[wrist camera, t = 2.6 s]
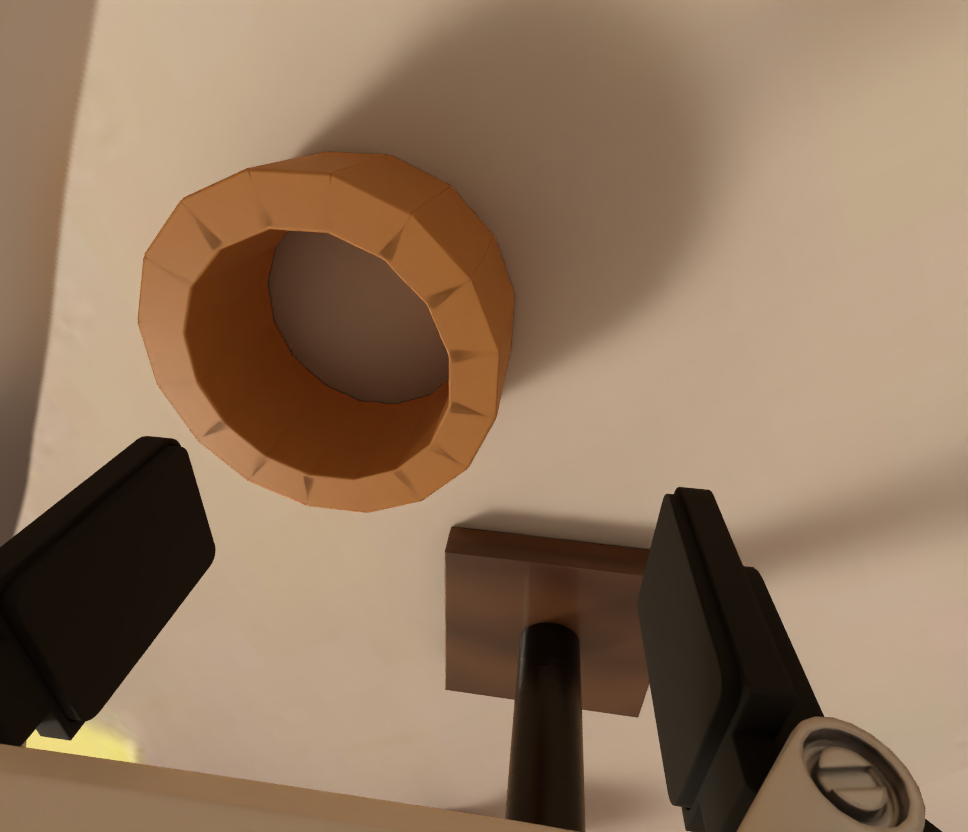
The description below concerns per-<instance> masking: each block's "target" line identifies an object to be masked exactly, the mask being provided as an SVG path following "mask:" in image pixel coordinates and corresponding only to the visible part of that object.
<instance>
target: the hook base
mask: <svg viewBox="0 0 968 832" xmlns="http://www.w3.org/2000/svg"><path fill="white" fill-rule="evenodd" d="M649 552H650V550H645V549H637V548H628V547H619V546H611V545H602V544H594V543H585V542H576V541H568V540H559V539H550V538H542V537H533V536H525V535H516V534H507V533H499V532H490V531H482V530H473V529H464V528H456V527H451V530H450V534H449V538H448V541H447V545H446V549H445V689H446V690H451V691H458V692H465V693H472V694H479V695H486V696H493V697H500V698H507V699H514V700H515V692H516V679H517V667H518V655H519V643H520V636H521V634H522V632H523V631H524V630H525V629H526V628H528V627H529V626H531V625H534V624H537V623H544V622H549V623H556V624H560V625H563V626H565V627H567V628H569V629H571V630H572V631H573V632H574V633H575V634H576V635H577V637H578V639H579V641H580V664H581V697H582V709H583V710H589V711H596V712H603V713H610V714H617V715H624V716H631V717H639V713H640V710H641V707H642V704H643V701H644V698H645V695H646V692H647V689H648V686H649V676H648V670H647V664H646V658H645V652H644V646H643V640H642V634H641V628H640V622H639V616H638V595H639V591H640V587H641V583H642V579H643V575H644V572H645V568H646V564H647V560H648V556H649Z"/></svg>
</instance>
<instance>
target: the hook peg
mask: <svg viewBox="0 0 968 832" xmlns="http://www.w3.org/2000/svg"><path fill="white" fill-rule="evenodd" d="M505 819H508V820H515V821H520V822H526V823H532V824H538V825H543V826H549V827H555V828H561V829H566V830H572V831H578V832H585V798H584V765H583V731H582V697H581V664H580V641H579V639H578V637H577V635H576V634H575V633H574V632H573V631H572V630H571V629H569V628H567V627H565V626H563V625H560V624H556V623H549V622H544V623H537V624H534V625H531V626H529V627H528V628H526V629H525V630H524V631H523V632H522V634H521V636H520V643H519V655H518V667H517V679H516V692H515V704H514V716H513V728H512V741H511V753H510V765H509V777H508V789H507V802H506V814H505Z"/></svg>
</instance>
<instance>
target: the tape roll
mask: <svg viewBox="0 0 968 832" xmlns="http://www.w3.org/2000/svg"><path fill="white" fill-rule="evenodd" d="M288 230H289V231H305V232H320V233H329V234H331V235H333V236H335V237H337V238H339V239H342V240H344V241H346V242H348V243H350V244H352V245H354V246H356V247H358V248H360V249H362V250H364V251H366V252H368V253H370V254H372V255H374V256H377V257H379V258H381V259H383V260H384V261H385V262H386V263H387V264H388V265H389V266H390V267H391V268H392V269H393V270H394V271H395V272H396V273H397V274H398V275H399V276H400V277H401V278H402V279H403V281H404V282H405V283H406V284H407V285H408V286H409V287H410V288H411V289H412V290H413V291H414V292H415V293H416V294H417V295H418V296H419V297H420V298H421V299H422V300H423V301H424V302H425V303H426V304H427V306H428V309H429V311H430V313H431V316H432V318H433V320H434V323H435V325H436V327H437V330H438V332H439V334H440V337H441V339H442V342H443V344H444V346H445V349H446V351H447V353H448V356H449V380H448V381H447V382H445V383H444V384H443V385H442V386H440V387H439V388H438V389H437V390H436V391H434V392H433V393H432V394H431V395H428V396H424V397H421V398H417V399H414V400H410V401H406V402H403V403H399V404H387V403H377V402H366V401H359V400H357V399H354V398H352V397H350V396H348V395H346V394H343V393H341V392H339V391H337V390H334V389H332V388H330V387H328V386H326V385H324V384H323V383H322V382H321V381H320V380H319V379H317V378H316V377H315V376H314V375H313V374H312V373H311V372H310V371H309V370H307V369H306V368H305V367H304V366H303V365H302V364H301V363H300V362H299V361H298V360H296V359H295V358H294V357H293V355H292V353H291V351H290V350H289V348H288V346H287V344H286V343H285V341H284V339H283V337H282V336H281V334H280V332H279V330H278V329H277V327H276V325H275V323H274V318H273V312H272V306H271V301H270V295H269V289H268V284H267V282H268V278H269V273H270V269H271V265H272V260H273V256H274V252H275V247H276V245H277V244H278V243H279V241H280V240H281V239H282V238H283V236H284V235H285V234H286V233H287V232H288ZM514 299H515V295H514V291H513V288H512V285H511V282H510V279H509V276H508V274H507V271H506V268H505V265H504V262H503V259H502V256H501V253H500V250H499V248H498V245H497V242H496V239H495V237H494V235H493V234H492V233H491V231H490V230H489V229H488V228H487V227H486V226H485V225H484V223H483V222H482V221H481V220H480V219H479V218H478V216H477V215H476V214H475V213H474V212H473V211H472V210H471V208H470V207H469V206H468V205H467V204H466V203H465V201H464V200H463V199H462V198H461V197H460V196H459V195H458V193H457V192H456V191H455V190H454V189H453V188H452V187H451V186H449V185H448V184H447V183H445V182H443V181H441V180H439V179H437V178H435V177H433V176H431V175H429V174H427V173H425V172H423V171H421V170H419V169H417V168H415V167H413V166H411V165H409V164H408V163H406V162H404V161H402V160H400V159H398V158H396V157H394V156H389V155H387V154H368V153H348V152H322V153H318V154H313V155H308V156H303V157H299V158H294V159H289V160H285V161H280V162H275V163H270V164H266V165H261V166H256V167H251V168H247V169H245V170H242V171H240V172H238V173H236V174H234V175H232V176H229V177H227V178H225V179H223V180H221V181H219V182H216V183H214V184H212V185H210V186H208V187H206V188H203V189H201V190H199V191H197V192H195V193H193V194H190V195H188V196H186V197H184V198H183V199H182V200H181V201H180V202H179V204H178V205H177V207H176V208H175V210H174V211H173V213H172V214H171V215H170V217H169V218H168V220H167V221H166V223H165V224H164V226H163V227H162V229H161V230H160V232H159V233H158V235H157V236H156V238H155V239H154V241H153V242H152V244H151V245H150V247H149V248H148V249H147V251H146V252H145V256H144V259H143V270H142V280H141V291H140V301H139V312H138V325H139V328H140V331H141V335H142V338H143V341H144V344H145V347H146V350H147V354H148V357H149V360H150V363H151V366H152V370H153V373H154V376H155V379H156V382H157V385H159V388H160V389H161V391H162V392H163V393H164V395H165V396H166V398H167V399H168V400H169V402H170V403H171V404H172V406H173V407H174V409H175V410H176V411H177V413H178V414H179V416H180V417H181V418H182V420H183V421H184V423H185V424H186V425H187V427H188V428H189V429H190V431H191V432H192V434H193V435H194V436H195V438H196V439H198V442H200V443H201V444H202V445H203V446H205V447H206V448H207V449H208V450H210V451H211V452H212V453H214V454H215V455H216V456H217V457H219V458H220V459H221V460H222V461H224V462H225V463H226V464H227V465H229V466H230V467H231V468H232V469H234V470H235V471H236V472H238V473H239V474H240V475H241V476H243V477H244V478H245V479H246V480H248V481H250V482H252V483H254V484H257V485H259V486H261V487H264V488H266V489H268V490H271V491H273V492H276V493H278V494H280V495H283V496H285V497H287V498H290V499H292V500H294V501H297V502H299V503H302V504H304V505H308V506H313V507H321V508H330V509H339V510H347V511H356V512H367V513H368V512H373V511H377V510H382V509H387V508H391V507H396V506H400V505H405V504H409V503H414V502H419V501H422V500H424V499H425V498H426V497H428V496H429V495H431V494H432V493H434V492H435V491H437V490H438V489H439V488H441V487H442V486H444V485H445V484H447V483H448V482H449V481H451V480H452V479H454V478H455V477H457V476H458V475H459V474H461V473H462V472H464V471H465V470H467V468H468V467H469V466H470V464H471V462H472V461H473V459H474V457H475V455H476V454H477V452H478V450H479V448H480V446H481V445H482V443H483V441H484V439H485V437H486V436H487V434H488V432H489V430H490V429H491V427H492V425H493V423H494V421H495V420H496V417H497V413H498V408H499V404H500V399H501V394H502V390H503V385H504V380H505V375H506V371H507V366H508V361H509V357H510V352H511V344H512V329H513V314H514Z"/></svg>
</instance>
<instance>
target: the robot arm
mask: <svg viewBox="0 0 968 832" xmlns="http://www.w3.org/2000/svg"><path fill="white" fill-rule="evenodd" d="M214 556H215V544H214V541H213V537H212V534H211V531H210V527H209V524H208V520H207V517H206V513H205V510H204V507H203V503H202V500H201V496H200V493H199V489H198V486H197V483H196V479H195V476H194V472H193V469H192V465H191V462H190V459H189V455H188V452H187V450H186V449H185V448H183V447H181V445H180V443H179V442H178V441H177V440H175V439H172V438H161V437H151V436H144V437H141V438H139V439H137V440H136V441H135V442H134V443H132V444H131V445H130V446H128V447H127V448H126V449H125V450H123V451H122V452H121V453H120V454H118V455H117V456H116V457H114V458H113V459H112V460H111V461H109V462H108V463H107V464H106V465H104V466H103V467H102V468H100V469H99V470H98V471H97V472H95V473H94V474H93V475H92V476H90V477H89V478H88V479H86V480H85V481H84V482H83V483H81V484H80V485H79V486H78V487H76V488H75V489H74V490H72V491H71V492H70V493H69V494H67V495H66V496H65V497H64V498H62V499H61V500H60V501H58V502H57V503H56V504H55V505H53V506H52V507H51V508H50V509H48V510H47V511H46V512H45V513H43V514H42V515H41V516H39V517H38V518H37V519H36V520H34V521H33V522H32V523H31V524H29V525H28V526H27V527H25V528H24V529H23V530H22V531H20V532H19V533H18V534H17V535H15V536H14V537H13V538H11V539H10V540H9V541H8V542H6V543H5V544H4V545H3V546H1V547H0V832H578V831H572V830H566V829H561V828H555V827H549V826H543V825H538V824H532V823H526V822H520V821H515V820H508V819H502V818H495V817H489V816H482V815H476V814H469V813H463V812H456V811H450V810H443V809H437V808H430V807H424V806H418V805H411V804H405V803H398V802H392V801H385V800H379V799H372V798H366V797H359V796H353V795H346V794H340V793H333V792H326V791H320V790H313V789H306V788H299V787H293V786H286V785H279V784H273V783H266V782H259V781H253V780H246V779H239V778H232V777H226V776H219V775H212V774H205V773H199V772H192V771H185V770H178V769H172V768H165V767H158V766H151V765H144V764H137V763H130V762H123V761H116V760H109V759H102V758H95V757H88V756H81V755H74V754H67V753H60V752H53V751H46V750H39V749H32V748H26V740H27V739H28V737H29V736H30V735H31V734H32V733H33V731H34V730H35V729H36V730H37V731H38V733H39V734H40V736H44V737H51V738H57V739H64V740H72V738H73V737H74V736H75V734H76V733H77V732H78V730H79V729H80V728H81V726H82V725H83V724H84V723H85V721H88V720H91V719H92V718H94V717H95V716H96V715H97V714H98V713H99V712H100V711H101V709H102V708H103V707H104V705H105V704H106V703H107V701H108V700H109V699H110V697H111V696H112V695H113V693H114V692H115V691H116V690H117V688H118V687H119V686H120V684H121V683H122V682H123V680H124V679H125V678H126V676H127V675H128V674H129V672H130V671H131V670H132V668H133V667H134V666H135V664H136V663H137V662H138V660H139V659H140V658H141V657H142V655H143V654H144V653H145V651H146V650H147V649H148V647H149V646H150V645H151V643H152V642H153V641H154V639H155V638H156V637H157V635H158V634H159V633H160V631H161V630H162V629H163V627H164V626H165V625H166V623H167V622H168V621H169V620H170V618H171V617H172V616H173V614H174V613H175V612H176V610H177V609H178V608H179V606H180V605H181V604H182V602H183V601H184V600H185V598H186V597H187V596H188V594H189V593H190V592H191V590H192V589H193V588H194V587H195V585H196V584H197V583H198V581H199V580H200V579H201V577H202V576H203V575H204V573H205V572H206V571H207V569H208V568H209V567H210V565H211V564H212V562H213V559H214ZM638 616H639V622H640V628H641V634H642V640H643V646H644V652H645V658H646V664H647V670H648V676H649V682H650V688H651V694H652V700H653V706H654V712H655V718H656V724H657V730H658V736H659V742H660V748H661V754H662V760H663V766H664V772H665V778H666V784H667V790H668V795H669V799H670V802H671V803H672V805H674V806H681V807H682V812H683V818H684V823H685V829H686V831H691V832H942V831H940V830H939V829H938V828H936V827H935V826H934V825H933V824H931V823H930V822H929V821H928V820H926V819H925V805H924V802H923V799H922V795H921V792H920V790H919V787H918V785H917V784H916V782H915V780H914V779H913V777H912V775H911V774H910V772H909V771H908V769H907V767H906V766H905V765H904V764H903V763H902V762H901V761H900V760H899V759H898V757H897V756H896V755H895V754H894V753H893V752H892V751H891V750H890V749H889V748H888V747H887V746H885V745H884V744H883V743H882V742H880V741H879V740H878V739H877V738H875V737H874V736H873V735H871V734H870V733H868V732H866V731H864V730H863V729H861V728H859V727H857V726H855V725H853V724H852V723H849V722H845V721H842V720H839V719H836V718H833V717H824V715H823V713H822V711H821V708H820V706H819V704H818V702H817V700H816V697H815V695H814V693H813V691H812V688H811V686H810V684H809V682H808V679H807V677H806V675H805V673H804V670H803V668H802V666H801V664H800V661H799V659H798V657H797V655H796V652H795V650H794V648H793V646H792V643H791V641H790V639H789V637H788V635H787V632H786V630H785V628H784V626H783V623H782V621H781V619H780V617H779V614H778V612H777V610H776V608H775V605H774V603H773V601H772V599H771V596H770V594H769V592H768V590H767V587H766V585H765V583H764V581H763V578H762V577H761V575H760V573H759V572H758V571H757V570H756V569H755V568H754V567H746V566H743V565H742V563H741V560H740V558H739V555H738V553H737V551H736V548H735V546H734V543H733V541H732V538H731V536H730V534H729V531H728V529H727V526H726V524H725V522H724V519H723V517H722V514H721V512H720V510H719V507H718V505H717V502H716V500H715V498H714V495H713V493H712V492H711V491H710V490H705V489H694V488H684V487H678V488H677V489H676V490H675V493H674V494H665V496H664V498H663V502H662V506H661V509H660V513H659V517H658V521H657V525H656V529H655V533H654V537H653V540H652V544H651V548H650V552H649V556H648V560H647V564H646V568H645V572H644V575H643V579H642V583H641V587H640V591H639V595H638Z"/></svg>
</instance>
